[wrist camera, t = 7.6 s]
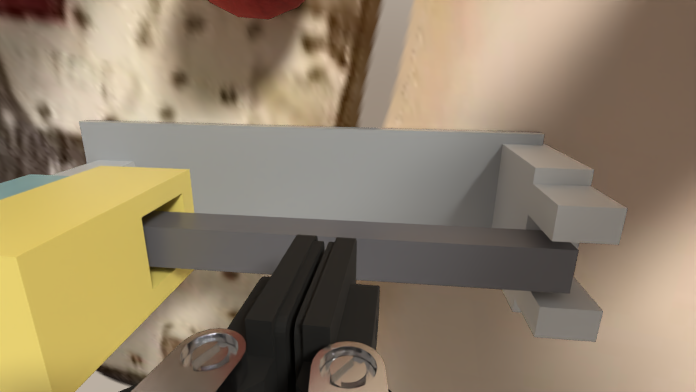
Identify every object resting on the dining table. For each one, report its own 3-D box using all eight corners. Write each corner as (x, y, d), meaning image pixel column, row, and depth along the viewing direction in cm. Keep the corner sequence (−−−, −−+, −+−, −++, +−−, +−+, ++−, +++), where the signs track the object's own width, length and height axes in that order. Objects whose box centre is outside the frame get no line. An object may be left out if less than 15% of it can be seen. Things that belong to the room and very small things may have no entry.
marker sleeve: (189, 169, 17) (16, 257, 9) (200, 263, 18) (57, 409, 10) (100, 165, 17) (-139, 247, 10) (117, 258, 19) (-80, 395, 11)
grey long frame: (544, 132, 19) (650, 179, 11) (522, 265, 21) (599, 383, 13) (87, 120, 21) (-92, 151, 13) (110, 241, 23) (-33, 329, 16)
